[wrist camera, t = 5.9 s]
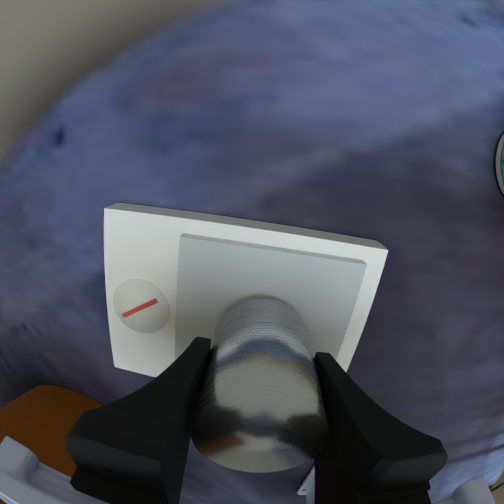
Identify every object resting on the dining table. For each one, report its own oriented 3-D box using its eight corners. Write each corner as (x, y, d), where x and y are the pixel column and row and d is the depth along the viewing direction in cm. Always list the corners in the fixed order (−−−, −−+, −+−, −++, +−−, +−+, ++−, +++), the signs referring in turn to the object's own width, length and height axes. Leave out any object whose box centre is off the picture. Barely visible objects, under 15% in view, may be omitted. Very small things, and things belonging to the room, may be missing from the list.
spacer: (296, 377, 14) (307, 474, 9) (211, 367, 14) (190, 464, 9) (317, 305, 13) (348, 402, 7) (219, 292, 13) (192, 388, 7)
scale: (329, 383, 18) (335, 405, 16) (123, 352, 18) (111, 372, 16) (377, 240, 15) (393, 254, 13) (118, 202, 15) (98, 210, 13)
